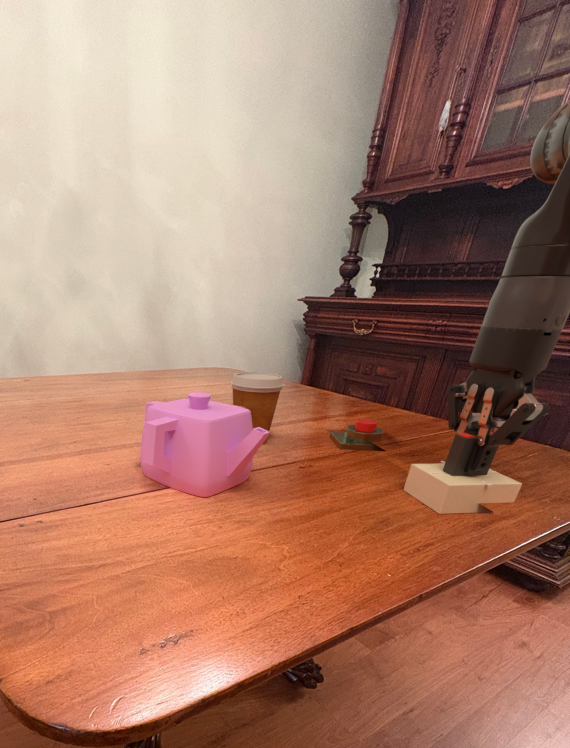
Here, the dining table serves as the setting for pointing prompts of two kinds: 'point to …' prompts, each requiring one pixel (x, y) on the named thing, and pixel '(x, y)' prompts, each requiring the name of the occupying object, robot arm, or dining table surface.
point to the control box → (458, 489)
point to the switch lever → (463, 455)
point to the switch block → (357, 439)
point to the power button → (365, 425)
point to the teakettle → (198, 444)
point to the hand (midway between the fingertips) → (465, 468)
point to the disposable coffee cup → (257, 396)
